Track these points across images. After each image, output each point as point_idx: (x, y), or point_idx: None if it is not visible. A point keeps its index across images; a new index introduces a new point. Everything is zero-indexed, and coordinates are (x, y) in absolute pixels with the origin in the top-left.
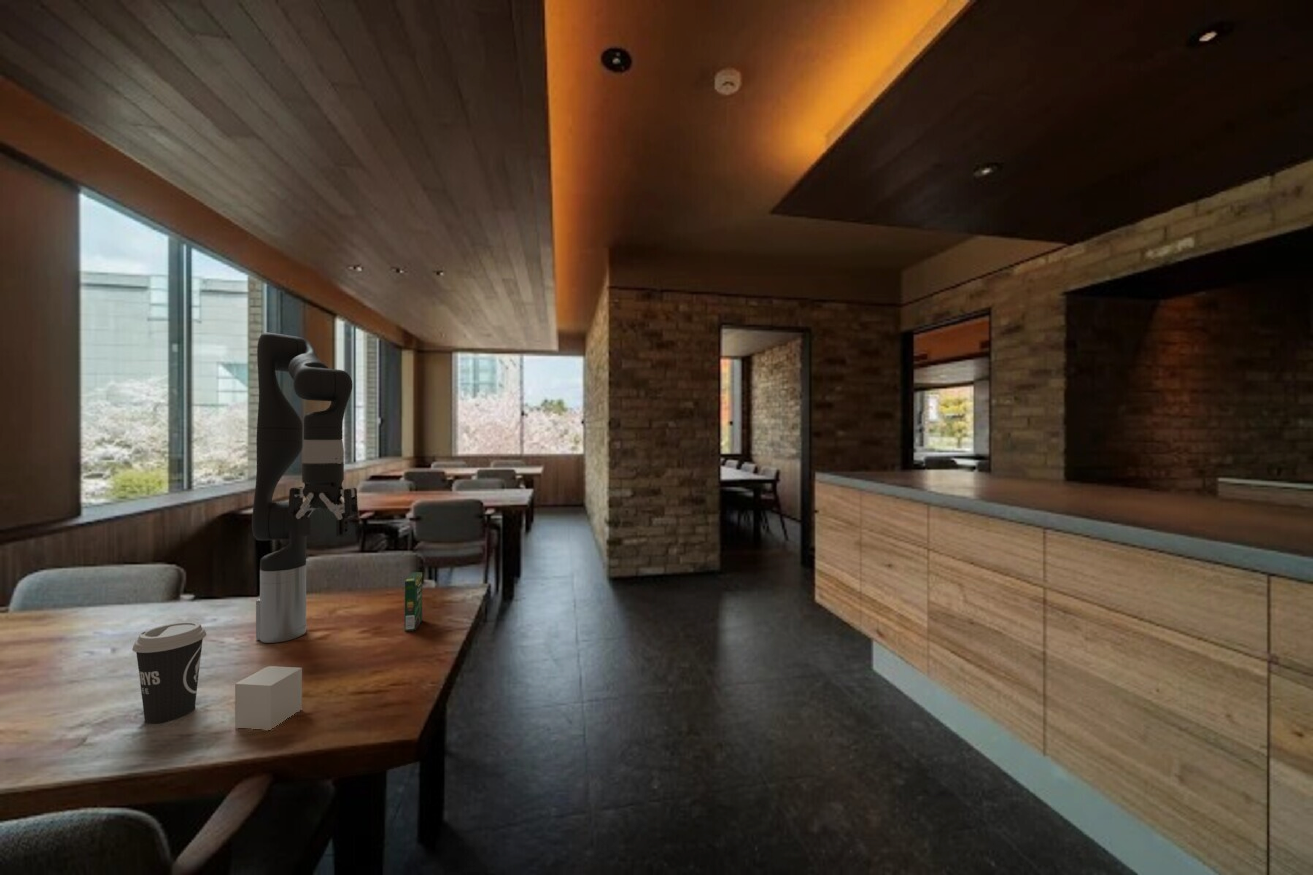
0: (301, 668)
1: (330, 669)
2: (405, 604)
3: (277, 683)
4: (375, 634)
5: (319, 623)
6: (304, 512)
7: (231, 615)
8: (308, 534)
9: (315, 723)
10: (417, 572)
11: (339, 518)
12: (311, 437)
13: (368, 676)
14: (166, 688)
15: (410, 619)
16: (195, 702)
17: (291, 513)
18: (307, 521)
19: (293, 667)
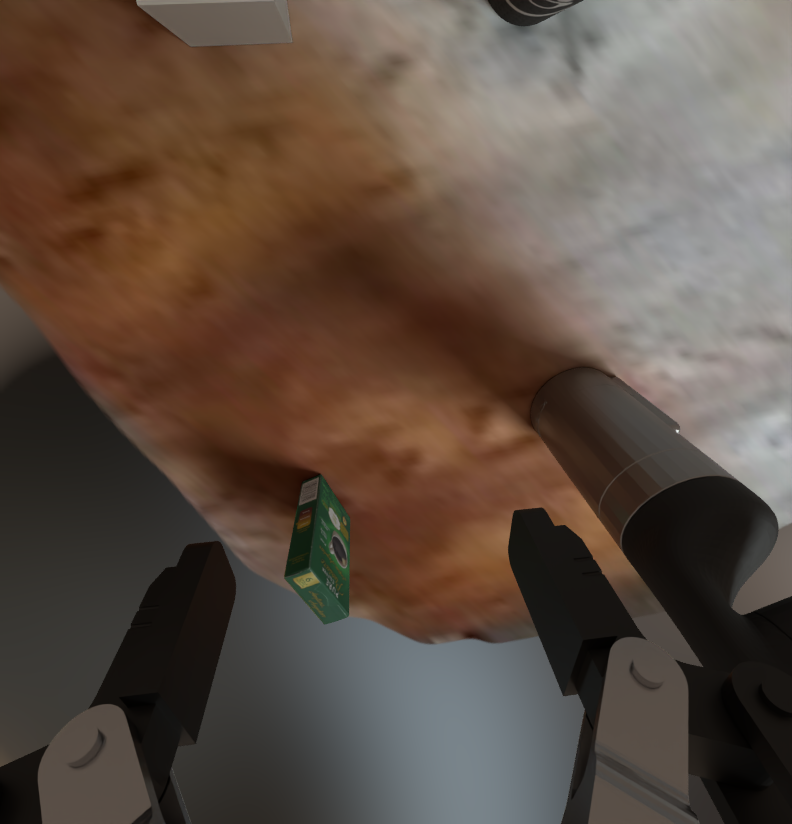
0: (137, 2)
1: (325, 279)
2: (313, 518)
3: None
4: (374, 451)
5: (538, 470)
6: (595, 737)
7: (751, 464)
8: (508, 548)
9: None
10: (333, 620)
11: (100, 723)
12: None
13: (197, 262)
14: None
15: (307, 495)
16: (495, 3)
17: (760, 691)
18: (556, 644)
19: (170, 1)
